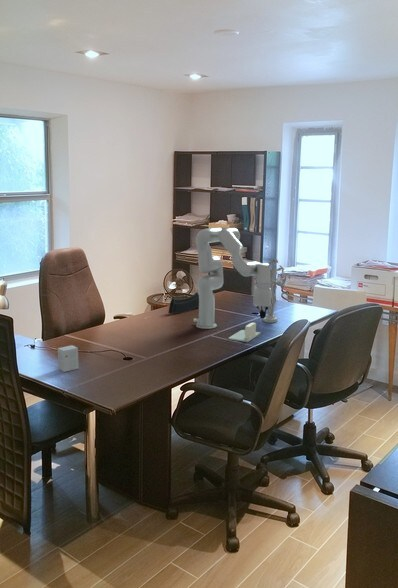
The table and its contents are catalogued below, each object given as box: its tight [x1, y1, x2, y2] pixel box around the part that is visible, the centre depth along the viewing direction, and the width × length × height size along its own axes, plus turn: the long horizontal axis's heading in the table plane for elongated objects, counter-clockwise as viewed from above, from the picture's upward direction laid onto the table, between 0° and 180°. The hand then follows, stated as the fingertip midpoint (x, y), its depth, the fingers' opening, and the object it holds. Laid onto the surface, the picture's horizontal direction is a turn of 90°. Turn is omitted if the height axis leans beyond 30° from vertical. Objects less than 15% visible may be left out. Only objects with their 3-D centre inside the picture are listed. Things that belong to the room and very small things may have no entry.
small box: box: [57, 344, 80, 373], centre depth 278 cm, size 8×6×10 cm
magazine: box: [168, 292, 199, 315], centre depth 396 cm, size 17×3×30 cm
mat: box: [227, 329, 262, 343], centre depth 337 cm, size 12×20×1 cm, turn 153°
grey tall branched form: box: [252, 258, 291, 324], centre depth 371 cm, size 28×24×40 cm
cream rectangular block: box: [244, 322, 257, 339], centre depth 334 cm, size 3×10×7 cm, turn 153°
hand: (262, 317), depth 329 cm, fingers closed
